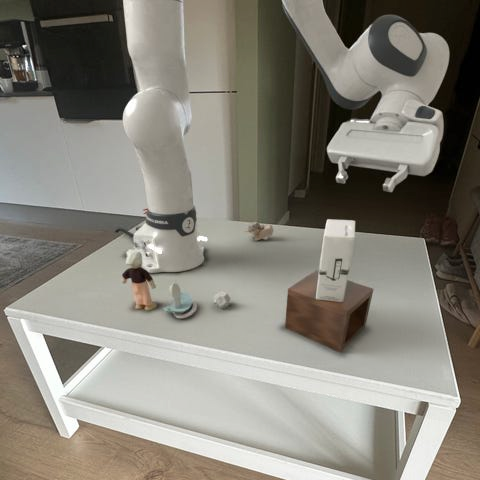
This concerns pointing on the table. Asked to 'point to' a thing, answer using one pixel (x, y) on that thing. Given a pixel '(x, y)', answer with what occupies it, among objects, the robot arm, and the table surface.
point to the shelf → (327, 313)
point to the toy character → (260, 230)
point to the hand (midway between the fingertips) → (362, 185)
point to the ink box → (335, 259)
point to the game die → (222, 300)
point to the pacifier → (180, 302)
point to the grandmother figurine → (139, 281)
